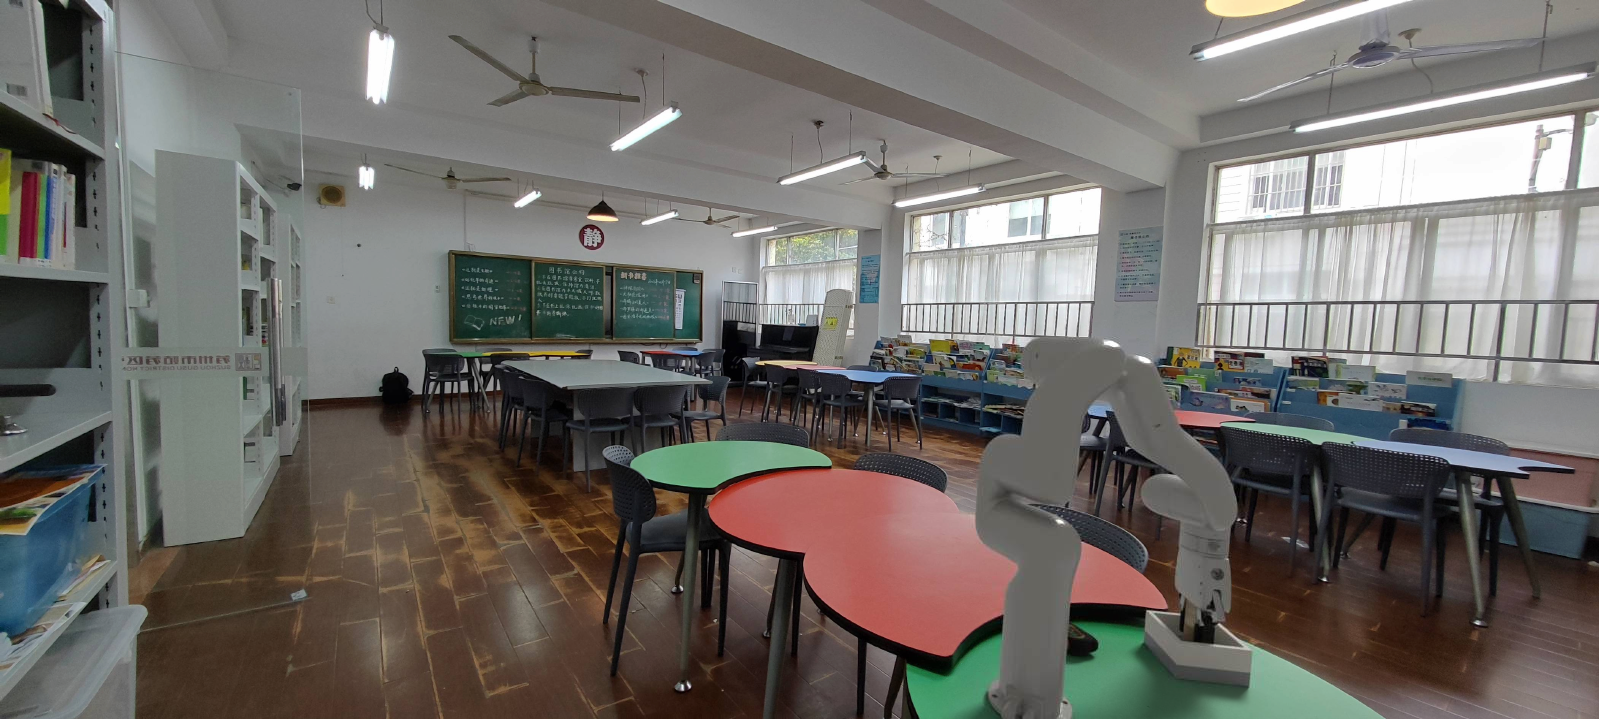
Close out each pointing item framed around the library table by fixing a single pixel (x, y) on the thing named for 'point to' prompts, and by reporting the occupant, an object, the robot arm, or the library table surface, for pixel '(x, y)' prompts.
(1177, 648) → the bore box
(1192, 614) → the peg
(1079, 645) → the tape measure
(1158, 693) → the library table surface
